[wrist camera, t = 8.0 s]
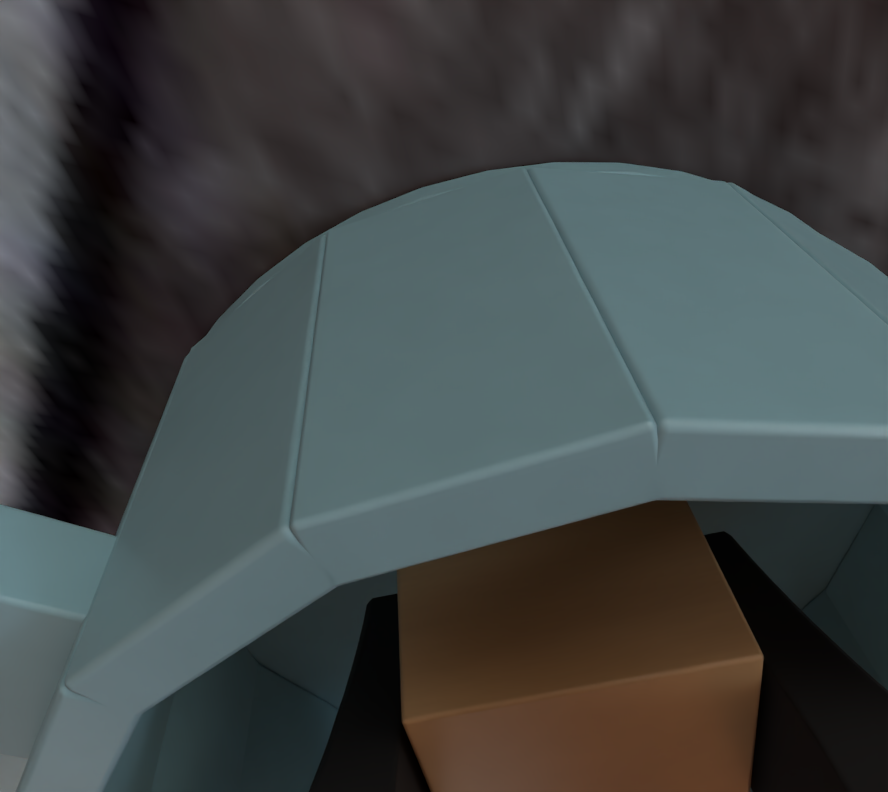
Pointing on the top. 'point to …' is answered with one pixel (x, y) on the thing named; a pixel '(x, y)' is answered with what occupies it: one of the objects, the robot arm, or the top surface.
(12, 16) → the top surface
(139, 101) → the top surface
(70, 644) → the pot
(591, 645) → the block
